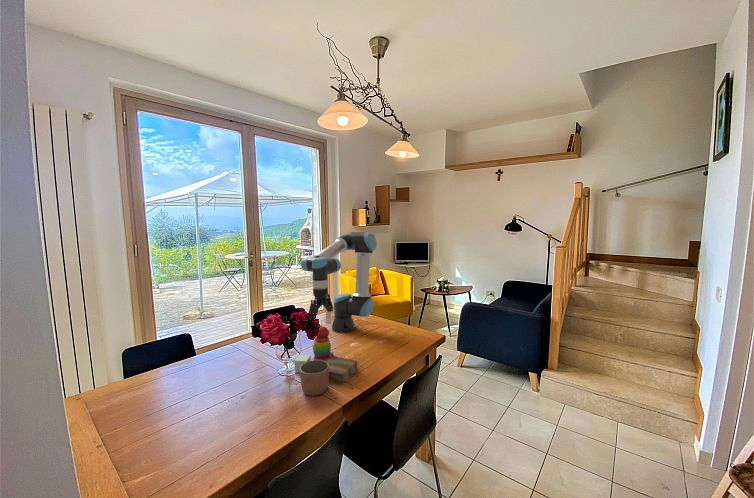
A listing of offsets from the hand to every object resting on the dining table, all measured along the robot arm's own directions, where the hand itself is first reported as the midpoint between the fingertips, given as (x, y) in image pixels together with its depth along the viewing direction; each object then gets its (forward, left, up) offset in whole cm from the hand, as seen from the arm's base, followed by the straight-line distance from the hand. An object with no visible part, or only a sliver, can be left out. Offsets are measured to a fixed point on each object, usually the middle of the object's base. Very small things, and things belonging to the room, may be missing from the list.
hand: (321, 327), depth 159 cm
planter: (+25, +13, -18) cm, 34 cm away
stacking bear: (0, 0, -18) cm, 18 cm away
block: (+13, -3, -18) cm, 22 cm away
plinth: (+10, +15, -18) cm, 25 cm away
